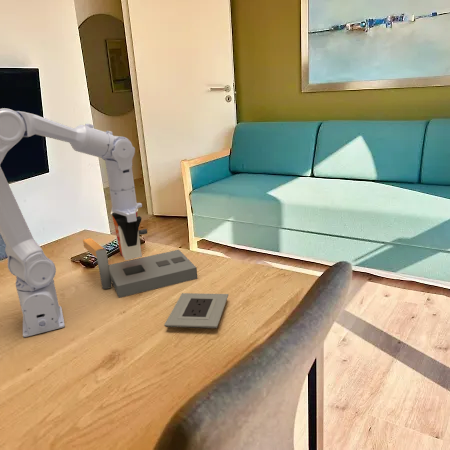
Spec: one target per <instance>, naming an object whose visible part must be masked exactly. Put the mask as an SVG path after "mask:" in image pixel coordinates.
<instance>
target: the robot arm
mask: <svg viewBox="0 0 450 450" xmlns="http://www.w3.org/2000/svg"><path fill="white" fill-rule="evenodd" d="M94 127H95V126H94V124H91V123H85V124H79V125H77V126H75V127H71V126H68V125H65V124H63V123H60V122H57V121H55V120H52V119H48V118H45V117H42V116H40V115H38V114H34V113H30V112H26V111H20V110H13V109H10V108H5V107H4V108H3V107H2V108H0V165H1V164H2V163H3V160H4V159H5V157H6V155H7V153H8V152H9V151H10V150H11V149H12V148H13V147H14V146H15V145H17V144H18V143H19V142H20V141H21V140H22V139H23V138H29V137H32V136H34V135H36V136H41V137H46V138H48V139H54V140H58V141H62V142H65V143H68V144H70V146H71V147H72V150H74V151H76V152H78V153H81V154H85V155H88V156H93V157H96V158H101V159H102V160H104V161H105V168H106V169H105V170H106V175H107V181H108V187H109V195H110V202H111V211H112V212H114V213H112V215H111V217H112V216H113V217H114V219H115V220H116V222H117V224H118V226H120V227H121V229H122V232H123V234H124V238H125V241H126V244H127V246H128V247H130V246H135V245H137V236H138V229H139V228H140V224H141V223H142V219H143V218H142V217H141V216H140V215H137V217H136V212H137V213H138V211H137V209H138V210H139V208H142V207H143V203H141V202H137V201H138V200H137V195H136V188H135V187H136V186H135V181H134V174H133V158H134V156H135V154H136V148H135V147H134V146H133V144H132V141H131V140H130V139H129V138H127V137H125V136H120V135H119V136H118V135H113V131H111V130H106V131H103V130H101V129H96V128H94ZM20 208H21V207H20V206H19V204H18V202H17V199H16V197H15V195H14V194H13V191H12V188H11V186H10V184H9V183H8V180H7V178H6V176H5V173H4V171H3V169H2V167H1V166H0V235H1V238H2V240H3V242H4V244H5V249H4V252H5V254H6V256H7V269H8V270H9V271H8V272H10V273H11V275H12V276H15V277H16V280H15V289H16V291H17V295H18V296H17V297H18V300H19V305H20V309H21V312H22V337H23V338H27V337H31V336H34V335H35V336H36V335H38V334H39V335H40V334H42V333H43V334H44V333H46V332H50V331H54V330H57V329H61V328H62V329H63V328H65V326H66V325H65V320H64V314H63V313H64V312H63V309H62V306H61V305H60V304H59V301H58V295H57V290H56V286H55V281H54V278H55V276H56V272H57V271H56V270H57V269H56V265H55V263H54V261H53V260H52V259H50V258H49V257H47V256H46V254H45V253H44V250H43V248H42V247H41V246H40V245H39V244H38V243H37V241H36V240H35V239H34V236H33V234H32V232H31V230H30V228H29V226H28V223H27V222H26V219H25V217H24V215H23V213H22V211H21V209H20ZM113 217H112V218H113Z"/></svg>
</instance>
